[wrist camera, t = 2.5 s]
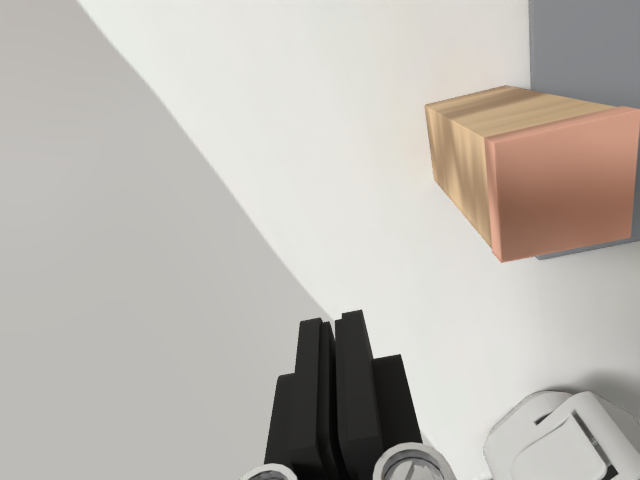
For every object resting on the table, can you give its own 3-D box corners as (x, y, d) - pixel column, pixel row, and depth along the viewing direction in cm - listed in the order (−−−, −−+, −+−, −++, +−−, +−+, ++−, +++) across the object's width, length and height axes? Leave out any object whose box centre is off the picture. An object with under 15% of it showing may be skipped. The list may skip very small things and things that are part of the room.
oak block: (423, 104, 26) (493, 142, 15) (506, 84, 25) (640, 109, 15) (433, 180, 28) (501, 262, 17) (510, 163, 27) (630, 237, 17)
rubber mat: (527, -66, 22) (532, -68, 22) (770, -133, 21) (781, -138, 20) (535, 256, 30) (538, 260, 30) (710, 222, 29) (718, 225, 28)
